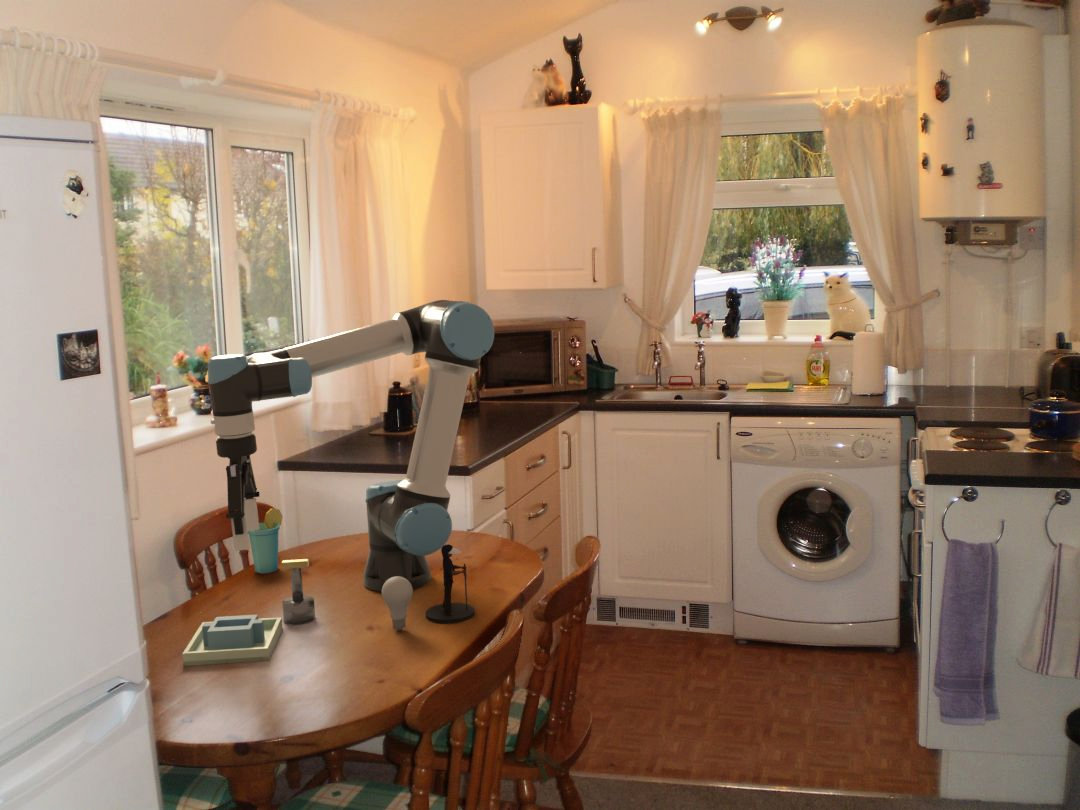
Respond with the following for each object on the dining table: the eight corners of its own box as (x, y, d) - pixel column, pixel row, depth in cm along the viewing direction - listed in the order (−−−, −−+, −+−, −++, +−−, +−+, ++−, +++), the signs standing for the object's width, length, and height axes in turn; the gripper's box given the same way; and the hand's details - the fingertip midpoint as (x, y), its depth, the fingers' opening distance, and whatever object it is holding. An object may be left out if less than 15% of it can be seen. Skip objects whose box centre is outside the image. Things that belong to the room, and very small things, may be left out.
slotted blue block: (200, 652, 208) (198, 632, 208) (209, 636, 216) (207, 617, 215) (260, 648, 209) (258, 628, 208) (267, 633, 217) (265, 613, 216)
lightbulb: (420, 626, 220) (417, 573, 218) (406, 637, 214) (403, 583, 212) (392, 623, 222) (389, 571, 220) (378, 634, 216) (375, 580, 214)
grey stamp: (317, 612, 230) (313, 555, 228) (313, 623, 223) (308, 564, 221) (286, 614, 229) (281, 557, 227) (281, 625, 223) (276, 566, 221)
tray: (282, 628, 221) (281, 617, 221) (268, 660, 205) (267, 648, 205) (203, 633, 220) (202, 622, 220) (183, 665, 204) (182, 653, 204)
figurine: (477, 621, 222) (474, 549, 219) (427, 626, 220) (423, 553, 217) (471, 604, 231) (468, 535, 229) (423, 609, 230) (419, 540, 227)
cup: (262, 581, 252) (257, 518, 250) (233, 579, 255) (228, 516, 252) (294, 563, 265) (289, 502, 263) (266, 561, 268) (261, 501, 265)
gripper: (226, 424, 226) (238, 524, 229) (203, 449, 201) (217, 560, 205) (263, 421, 226) (274, 520, 230) (245, 445, 202) (257, 556, 206)
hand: (247, 539), depth 217 cm, fingers open, 13 cm apart
